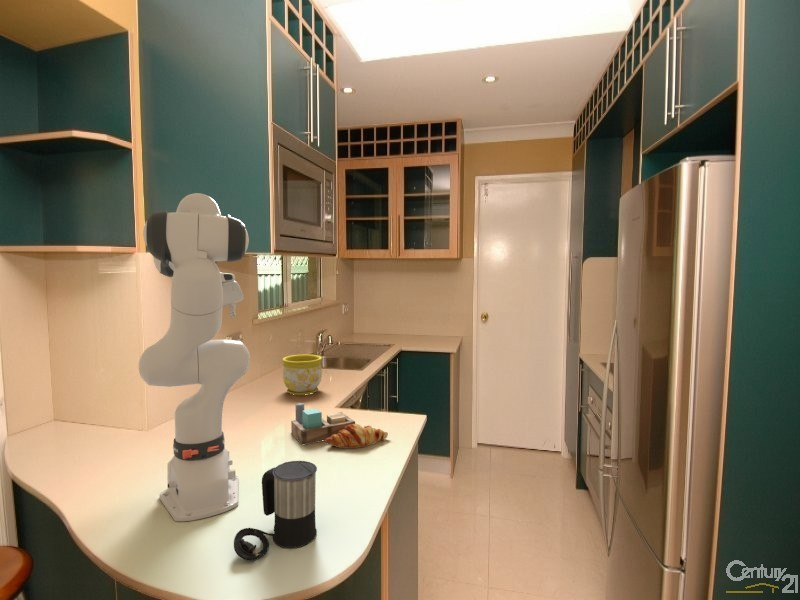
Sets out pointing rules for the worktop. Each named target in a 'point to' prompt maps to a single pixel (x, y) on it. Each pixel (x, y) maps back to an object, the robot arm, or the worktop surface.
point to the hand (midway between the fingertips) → (220, 320)
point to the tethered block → (308, 417)
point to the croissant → (356, 436)
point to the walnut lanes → (318, 430)
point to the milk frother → (284, 509)
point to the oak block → (335, 418)
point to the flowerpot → (302, 373)
